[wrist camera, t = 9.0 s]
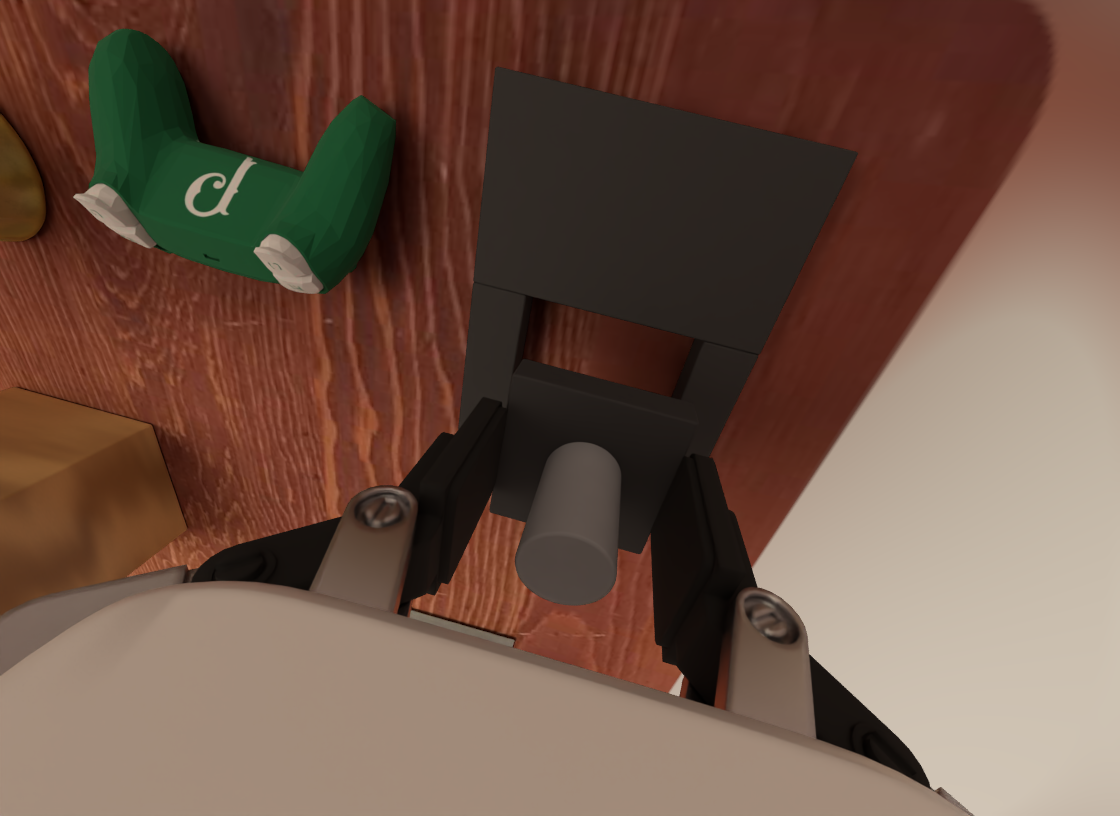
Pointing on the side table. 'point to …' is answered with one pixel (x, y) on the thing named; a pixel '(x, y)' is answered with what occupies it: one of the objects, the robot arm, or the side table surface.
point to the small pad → (599, 419)
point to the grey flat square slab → (461, 628)
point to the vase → (18, 188)
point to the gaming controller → (228, 178)
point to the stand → (77, 496)
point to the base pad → (640, 231)
